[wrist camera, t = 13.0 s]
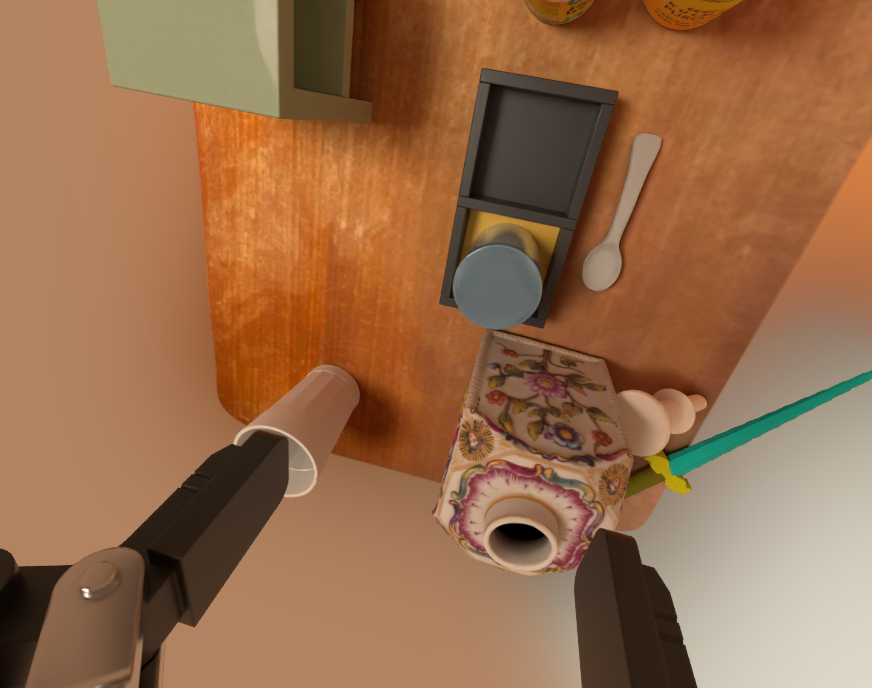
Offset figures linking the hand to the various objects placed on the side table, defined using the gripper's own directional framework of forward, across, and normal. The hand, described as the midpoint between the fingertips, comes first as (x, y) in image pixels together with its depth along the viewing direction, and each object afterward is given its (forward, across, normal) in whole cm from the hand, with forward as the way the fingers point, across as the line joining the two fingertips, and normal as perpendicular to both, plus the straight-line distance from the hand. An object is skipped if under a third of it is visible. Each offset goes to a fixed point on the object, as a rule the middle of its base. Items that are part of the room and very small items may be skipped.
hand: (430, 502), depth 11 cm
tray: (+29, 0, -3) cm, 29 cm away
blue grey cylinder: (+28, 0, +1) cm, 28 cm away
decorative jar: (+29, -6, +14) cm, 33 cm away
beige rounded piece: (+22, -13, +10) cm, 27 cm away
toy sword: (+27, -14, +26) cm, 40 cm away
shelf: (+29, +18, -12) cm, 36 cm away
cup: (+29, +15, +20) cm, 38 cm away
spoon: (+29, -8, -4) cm, 31 cm away
